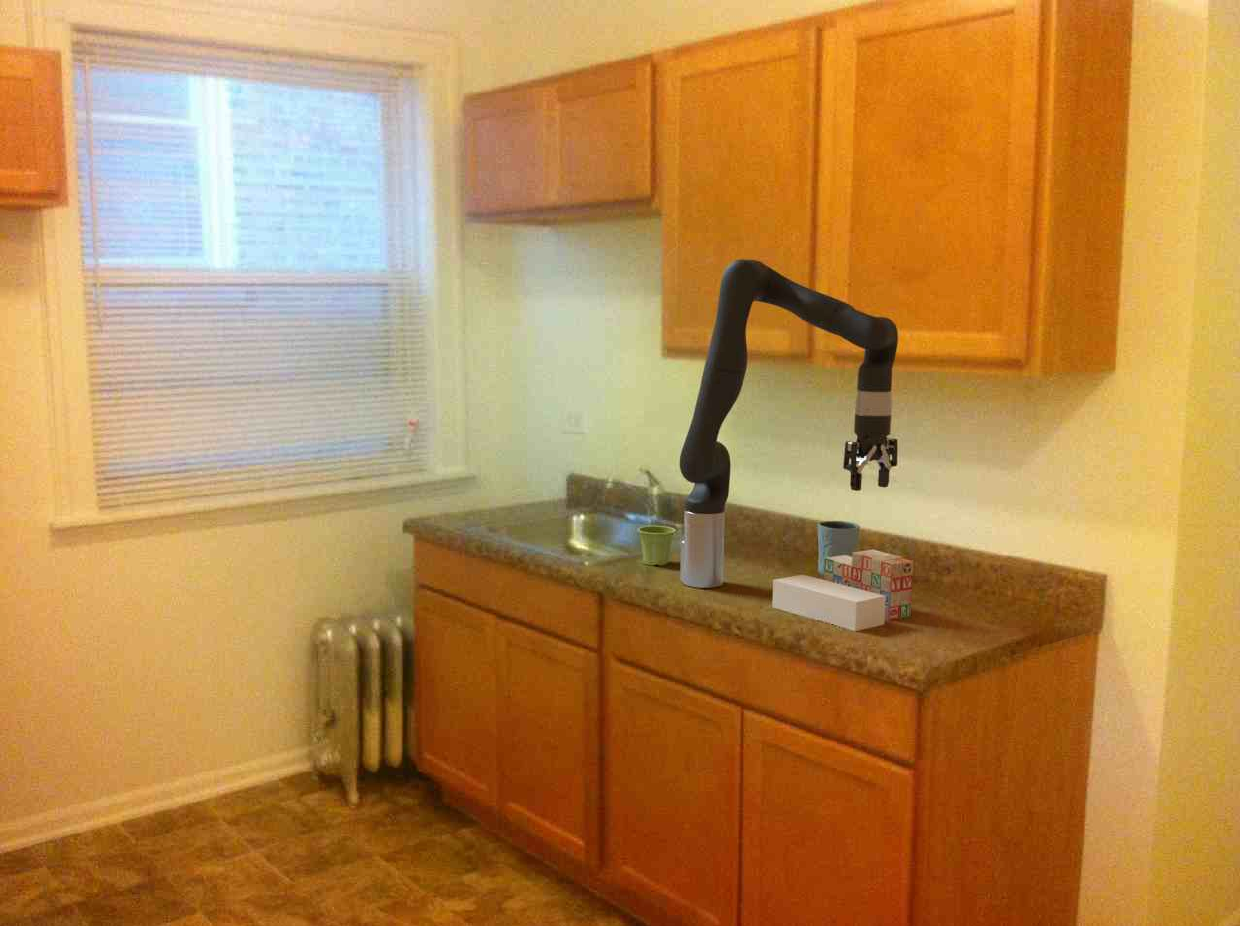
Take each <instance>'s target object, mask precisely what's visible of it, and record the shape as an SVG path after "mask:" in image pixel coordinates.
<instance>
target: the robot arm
mask: <svg viewBox="0 0 1240 926" xmlns="http://www.w3.org/2000/svg"><path fill="white" fill-rule="evenodd" d="M753 302H759V303H760V302H761V303H764V304H769V305H773V306H776V307H779V308H781V309H784V310H786V311H788V312H789V313H792V314H793V315H795V316H797V317H798V318H799V319H801V320H802V321H805V322H806V323H807V324H809V325H812V326H814V327H815V328H818V329H820V330H822V331H825V332H827V333H830V334H832V335H836V336H839V337H840V338H842V339H843V340H845V341H847V342H849V343H851V344H853V345H854V346H857V347H858V348H861V349H864V356H863V362H862V363H861V364H860V365H859V367H858V370H857V385H856V387H857V390H856V396H855V405H854V407H855V408H854V425H853V426H854V429H853V431H854V434H855V435H856V441H850V440H849V441H848V440H846V441H845V444H844V455H843V464H842V465H843V467H842V468H843V469H844V470H846V471H849V472H850V483H849V484H850V489H851V491H856V492H860V491H861V490H862V478H863V473H862V471H863V469H864V468H865V466H866V465H868V464H869V462H873V461H875V462H876V464H877V466H878V468H879V469H878V479H877V486H878V487H879V488H887V487H889V483H890V472H891V471H890V470H892V468H893V467H897V466H898V439H897V438H893V437H888V436H890V435H891V431H892V430H891V429H892V409H893V400H892V399H893V398H892V388H893V387H892V385H893V383H892V382H893V366H894V363H895V359H896V354H897V349H898V344H899V334H898V333H899V332H898V327H897V326H896V323H895V321H893V320H892V319H891V318H888V317H885V316H873V315H871V314H868V313H866V312H863V311H861V310H857V309H856V308H855V307H854V306H853V305H851V304H849V303H847V302H845V301H843V300H840V299H837V298H835V297H832V296H830V295H828V294H824V293H822V292H820V291H817V290H815V289H811V288H809V287H806V286H803V285H802V284H799V283H797V282H796V281H793V280H791V279H789V278H787V277H786V276H784V275H782V274H780V273H779V272H778V271H776V270H775V269H773V268H772V267H770V266H768V265H766V264H765V263H763V262H762V261H759V260H757V259H736V260H734V261H732V262H730V263H729V264H728V265H727V266H726V268H725V269H724V271H723V273H722V276H721V281H720V287H719V296H718V303H717V310H716V317H715V323H714V327H713V330H712V334H711V339H710V343H709V346H708V347H709V348H708V352H707V355H706V359H705V363H704V367H703V371H702V376H701V382H700V387H699V390H698V393H697V399H696V402H695V407H694V411H693V415H692V419H691V422H690V425H689V428H688V431H687V435H686V436H685V440H684V443H683V445H682V448H681V451H680V457H679V469H680V472H681V475H682V477H683V478H684V480H686V481H687V482H688V483H692V484H693V489H692V490H691V492H690V493H689V494H688V495H687V496H686V497H685V499H684V519H683V521H684V526H683V527H684V528H683V529H684V531H683V540H682V541H681V543H680V569H679V570H680V573H679V575H680V579H679V580H680V581H679V582H682V583H683V585H685V586H688V587H693V588H700V589H701V588H703V589H704V588H705V589H706V588H707V589H708V588H717V587H721V586H722V585H723V583H724V551H725V549H724V545H725V511H726V510H725V509H726V503H727V500H728V497H729V493H730V479H731V458H730V453H729V451H728V448H727V447H726V446H725V445H724V444H723V443H722V442H720V441H718V437H719V433H720V430H721V428H722V425H723V423H724V422H725V420H726V418H727V416H728V414H729V413H730V411H731V410H732V408H733V407H734V405H735V403H736V401H737V400H738V398H739V396H740V395H741V394H740V393H741V392H742V389H743V388H742V387H743V384H744V381H745V376H746V371H747V366H748V345H747V324H748V319H749V316H750V311H751V309H752V306H753Z"/></svg>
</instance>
